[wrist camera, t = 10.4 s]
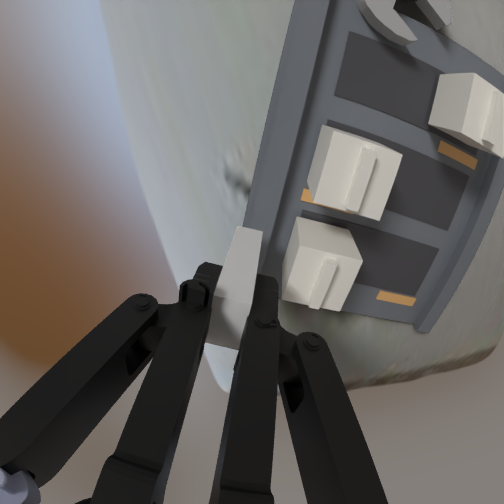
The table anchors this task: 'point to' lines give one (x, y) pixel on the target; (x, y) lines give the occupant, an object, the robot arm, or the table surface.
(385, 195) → the white slider knob
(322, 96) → the switch bank
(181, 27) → the table surface
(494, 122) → the white notched block
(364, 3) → the adjustable wrench
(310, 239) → the white ridged block
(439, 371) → the table surface
